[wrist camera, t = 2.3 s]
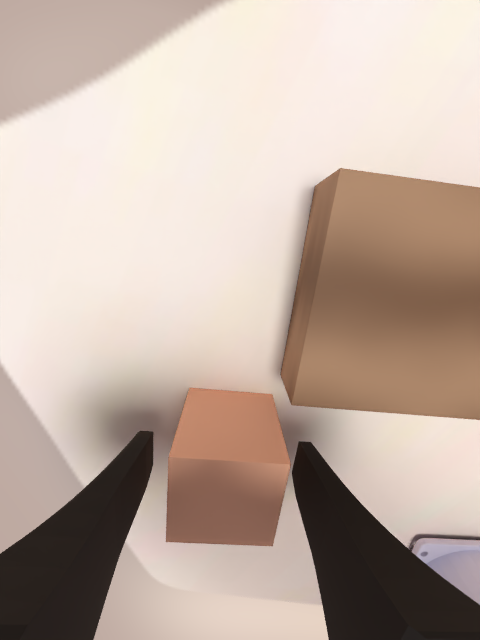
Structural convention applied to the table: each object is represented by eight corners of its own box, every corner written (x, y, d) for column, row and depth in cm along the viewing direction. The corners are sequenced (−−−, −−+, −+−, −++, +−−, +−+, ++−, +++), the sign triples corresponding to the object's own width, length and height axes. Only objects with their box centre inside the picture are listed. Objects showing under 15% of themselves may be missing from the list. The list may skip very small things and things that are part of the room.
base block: (440, 388, 13) (485, 420, 11) (280, 375, 13) (291, 405, 10) (513, 212, 11) (594, 203, 8) (315, 186, 10) (340, 168, 8)
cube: (260, 457, 15) (272, 546, 10) (185, 452, 14) (165, 542, 10) (272, 393, 13) (290, 464, 9) (189, 386, 13) (168, 457, 9)
